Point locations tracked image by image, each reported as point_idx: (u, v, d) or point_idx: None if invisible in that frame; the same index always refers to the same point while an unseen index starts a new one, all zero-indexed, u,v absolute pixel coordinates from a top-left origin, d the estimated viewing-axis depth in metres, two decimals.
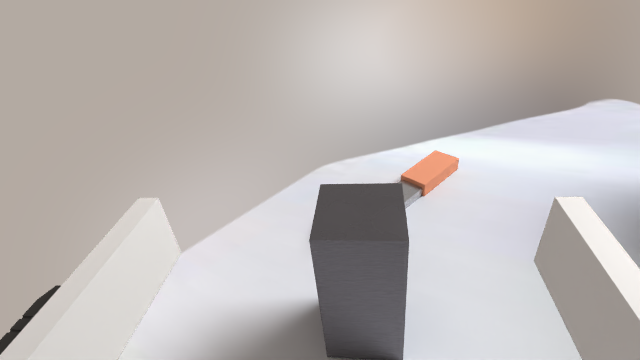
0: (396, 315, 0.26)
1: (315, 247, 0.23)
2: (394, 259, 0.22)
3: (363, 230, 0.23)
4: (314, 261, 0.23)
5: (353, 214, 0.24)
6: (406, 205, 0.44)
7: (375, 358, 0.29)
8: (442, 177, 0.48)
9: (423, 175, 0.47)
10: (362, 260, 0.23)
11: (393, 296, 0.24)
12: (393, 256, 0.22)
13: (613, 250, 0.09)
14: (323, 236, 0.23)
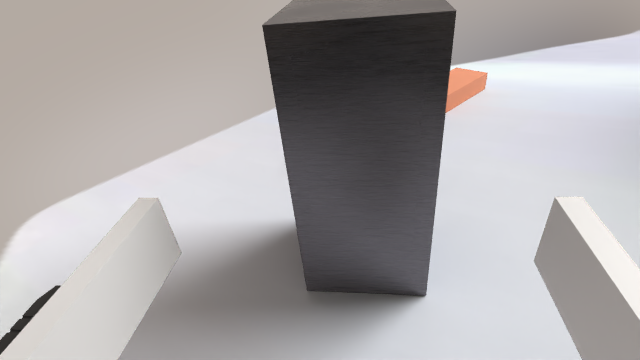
0: (420, 202, 0.15)
1: (274, 44, 0.12)
2: (424, 64, 0.12)
3: (366, 12, 0.12)
4: (275, 81, 0.13)
5: (347, 6, 0.13)
6: None
7: (382, 291, 0.18)
8: (467, 93, 0.37)
9: None
10: (363, 72, 0.12)
11: (417, 158, 0.14)
12: (422, 56, 0.12)
13: (613, 250, 0.09)
14: (290, 20, 0.12)
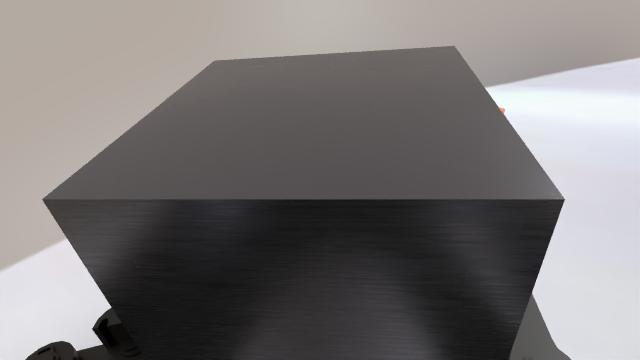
0: None
1: (87, 236, 0.05)
2: (460, 297, 0.05)
3: (314, 158, 0.05)
4: (111, 297, 0.06)
5: (284, 111, 0.06)
6: None
7: None
8: None
9: None
10: (308, 297, 0.05)
11: None
12: (457, 283, 0.04)
13: None
14: (120, 182, 0.05)
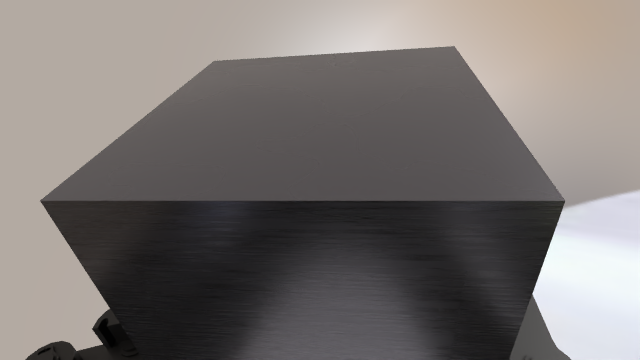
0: None
1: (85, 237, 0.05)
2: (460, 298, 0.05)
3: (313, 158, 0.05)
4: (110, 298, 0.06)
5: (283, 111, 0.06)
6: None
7: None
8: None
9: None
10: (308, 299, 0.05)
11: None
12: (457, 284, 0.04)
13: None
14: (119, 183, 0.05)
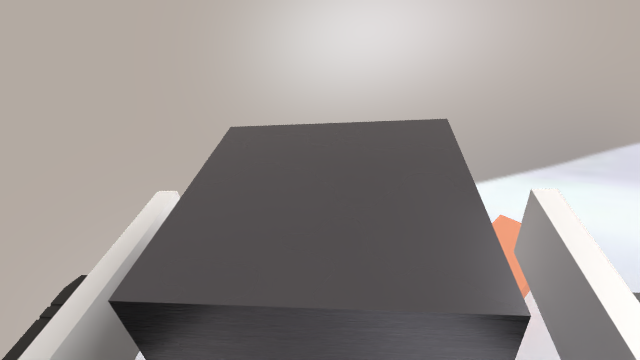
0: None
1: (142, 326, 0.06)
2: None
3: (330, 260, 0.06)
4: None
5: (300, 200, 0.07)
6: None
7: None
8: (528, 288, 0.21)
9: None
10: None
11: None
12: None
13: (582, 238, 0.09)
14: (171, 283, 0.06)
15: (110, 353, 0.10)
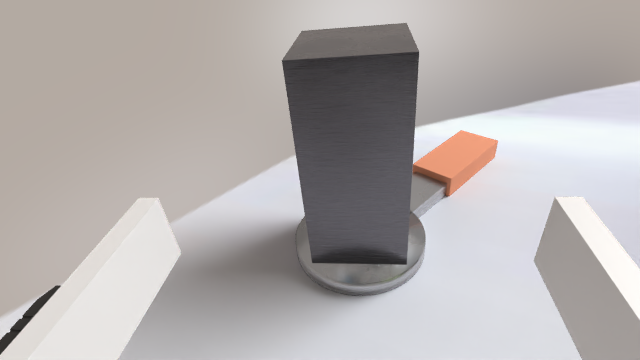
0: (399, 188, 0.20)
1: (290, 73, 0.17)
2: (398, 88, 0.16)
3: (356, 50, 0.17)
4: (290, 99, 0.17)
5: (342, 42, 0.18)
6: (422, 210, 0.28)
7: (372, 262, 0.23)
8: (475, 168, 0.32)
9: (447, 165, 0.30)
10: (355, 93, 0.17)
11: (396, 155, 0.18)
12: (397, 82, 0.16)
13: (613, 250, 0.09)
14: (301, 56, 0.16)
15: None
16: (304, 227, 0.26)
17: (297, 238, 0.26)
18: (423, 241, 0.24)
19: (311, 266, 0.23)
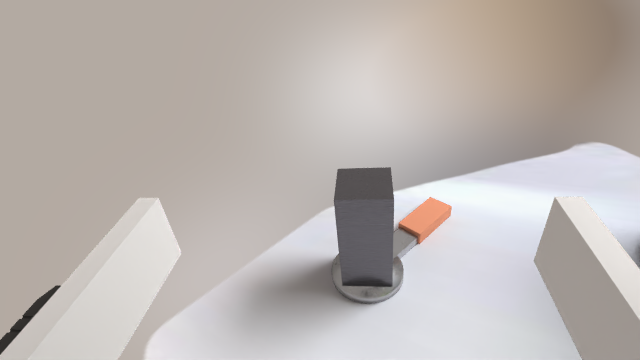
0: (387, 251, 0.40)
1: (337, 204, 0.37)
2: (385, 211, 0.37)
3: (367, 194, 0.37)
4: (336, 214, 0.38)
5: (359, 185, 0.39)
6: (403, 253, 0.48)
7: (374, 285, 0.43)
8: (436, 225, 0.52)
9: (419, 224, 0.51)
10: (366, 212, 0.37)
11: (385, 237, 0.39)
12: (384, 209, 0.37)
13: (613, 250, 0.09)
14: (342, 197, 0.37)
15: None
16: (336, 264, 0.47)
17: (332, 271, 0.46)
18: (402, 273, 0.45)
19: (342, 287, 0.44)
